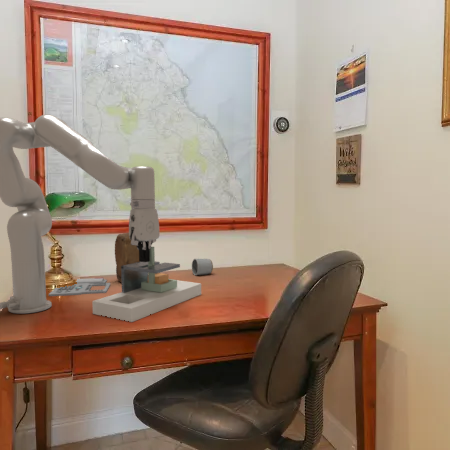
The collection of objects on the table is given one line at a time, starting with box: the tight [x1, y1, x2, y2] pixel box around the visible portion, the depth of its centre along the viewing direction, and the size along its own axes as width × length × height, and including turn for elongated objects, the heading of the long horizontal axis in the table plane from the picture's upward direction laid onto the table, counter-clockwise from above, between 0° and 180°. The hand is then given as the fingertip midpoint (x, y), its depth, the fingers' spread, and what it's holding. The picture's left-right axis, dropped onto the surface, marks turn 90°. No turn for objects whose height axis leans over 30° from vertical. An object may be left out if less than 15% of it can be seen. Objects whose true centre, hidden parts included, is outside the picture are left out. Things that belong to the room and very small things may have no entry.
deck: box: [92, 279, 202, 323], centre depth 137 cm, size 36×16×4 cm, turn 149°
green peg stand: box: [141, 246, 178, 293], centre depth 140 cm, size 9×9×15 cm
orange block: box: [148, 272, 169, 284], centre depth 140 cm, size 5×5×5 cm
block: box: [114, 232, 140, 283], centre depth 169 cm, size 11×8×20 cm
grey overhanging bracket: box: [121, 260, 181, 293], centre depth 137 cm, size 12×15×9 cm
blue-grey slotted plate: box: [48, 277, 111, 297], centre depth 160 cm, size 23×3×20 cm
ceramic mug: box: [191, 258, 214, 276], centre depth 185 cm, size 10×8×7 cm
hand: (144, 261), depth 134 cm, fingers closed
